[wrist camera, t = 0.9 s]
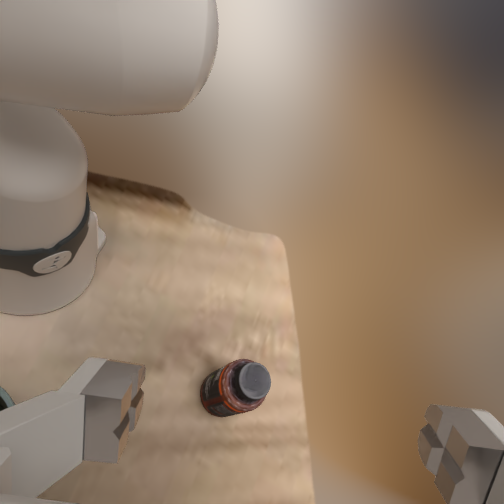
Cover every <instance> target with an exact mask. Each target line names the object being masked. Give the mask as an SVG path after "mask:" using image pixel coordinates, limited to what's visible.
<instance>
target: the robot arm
mask: <svg viewBox="0 0 504 504" xmlns="http://www.w3.org/2000/svg"><path fill="white" fill-rule="evenodd" d="M218 29H219V28H218V14H217V5H216V1H215V0H0V312H3V313H7V314H13V315H37V314H43V313H47V312H51V311H54V310H57V309H59V308H61V307H63V306H65V305H67V304H69V303H71V302H72V301H73V300H75V299H76V298H77V297H79V296H80V295H81V294H82V293H83V292H84V290H85V289H86V288H87V287H88V285H89V284H90V282H91V280H92V278H93V275H94V272H95V267H96V259H97V255H98V253H99V252H100V250H101V249H102V247H103V246H104V244H105V241H106V235H105V233H104V231H103V230H102V229H101V228H100V227H99V226H98V219H97V215H96V213H95V212H92V211H91V209H90V203H89V197H88V194H87V192H86V189H87V171H88V158H87V153H86V150H85V147H84V145H83V143H82V141H81V139H80V137H79V136H78V134H77V133H76V131H75V130H74V129H73V127H72V126H71V125H70V123H69V122H68V121H67V120H66V119H65V118H64V117H63V116H62V115H61V114H60V113H59V112H58V111H57V110H55V108H57V109H65V110H72V111H80V112H87V113H95V114H102V115H109V116H126V115H148V114H159V113H170V112H179V111H181V110H183V109H184V108H185V107H186V106H187V105H189V103H191V102H192V101H193V100H194V98H195V97H196V96H197V95H198V94H199V92H200V91H201V89H202V88H203V86H204V85H205V83H206V81H207V79H208V76H209V74H210V72H211V70H212V67H213V64H214V59H215V56H216V51H217V44H218ZM144 379H145V365H143V364H137V363H130V362H124V361H118V360H111V359H105V358H97V357H90V358H88V359H87V360H86V361H85V362H84V363H83V364H82V365H81V366H80V367H79V368H78V369H77V370H76V371H75V372H74V374H73V375H72V376H71V377H70V378H69V379H68V380H67V381H66V382H65V383H64V384H63V385H62V387H61V388H60V389H59V390H58V391H49V392H47V393H44V394H42V395H39V396H37V397H34V398H32V399H29V400H27V401H24V402H22V403H19V404H17V405H14V406H12V407H9V408H7V409H4V410H2V411H0V504H78V503H70V502H62V501H54V500H46V499H39V498H36V497H37V496H38V495H40V494H41V493H42V492H44V491H45V490H46V489H48V488H49V487H50V486H52V485H53V484H54V483H56V482H57V481H58V480H59V479H61V478H62V477H63V476H65V475H66V474H67V473H69V472H70V471H71V470H73V469H74V468H75V467H77V466H78V465H79V464H80V463H82V460H87V461H97V462H107V463H117V464H118V461H119V459H120V457H121V455H122V453H123V451H124V449H125V447H126V445H127V443H128V434H129V432H130V431H132V430H134V428H135V426H136V424H137V422H138V419H139V416H140V413H141V409H142V404H143V396H144V392H143V391H142V389H141V388H140V387H141V385H142V383H143V381H144ZM425 419H426V421H427V423H428V424H427V425H426V426H425V427H423V428H422V429H421V430H420V434H419V438H418V451H419V454H420V457H421V460H422V462H423V463H424V465H425V467H426V468H427V469H428V470H429V471H431V472H432V473H433V474H434V475H435V476H436V477H435V484H436V486H437V488H438V490H439V491H440V493H441V495H442V496H443V498H444V500H445V502H446V503H447V504H504V427H503V426H502V425H501V424H500V423H499V422H498V421H497V420H496V419H495V418H494V417H493V416H492V415H491V414H490V413H489V412H487V411H485V410H481V409H471V408H458V407H451V406H442V405H433V404H431V405H430V406H429V407H428V408H427V410H426V413H425Z"/></svg>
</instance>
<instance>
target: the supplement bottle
mask: <svg viewBox="0 0 504 504" xmlns="http://www.w3.org/2000/svg"><path fill="white" fill-rule="evenodd" d="M270 386H271V378H270V375H269V372H268V371H267V369H266V368H265V367H264V366H263V365H261V364H260V363H256V362H254V361H251V360H248V359H239V360H236V361H233V362H231V363H229V364H228V365H226V366H224V367H222V368H220V369H218V370H216V371H215V372H213V373H211V374H210V375H209V376H208V377H207V378H206V379H205V381H204V382H203V385H202V388H201V399H202V402H203V405H204V407H205V408H206V410H207V411H208V412H209V413H211V414H212V415H215V416H218V417H226V416H231V415H235V414H240V413H245V412H248V411H252V410H254V409H256V408H257V407H258V406H260V405H261V404H262V402H263V401H264V399H265V397H266V395H267V393H268V392H269V390H270Z"/></svg>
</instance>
